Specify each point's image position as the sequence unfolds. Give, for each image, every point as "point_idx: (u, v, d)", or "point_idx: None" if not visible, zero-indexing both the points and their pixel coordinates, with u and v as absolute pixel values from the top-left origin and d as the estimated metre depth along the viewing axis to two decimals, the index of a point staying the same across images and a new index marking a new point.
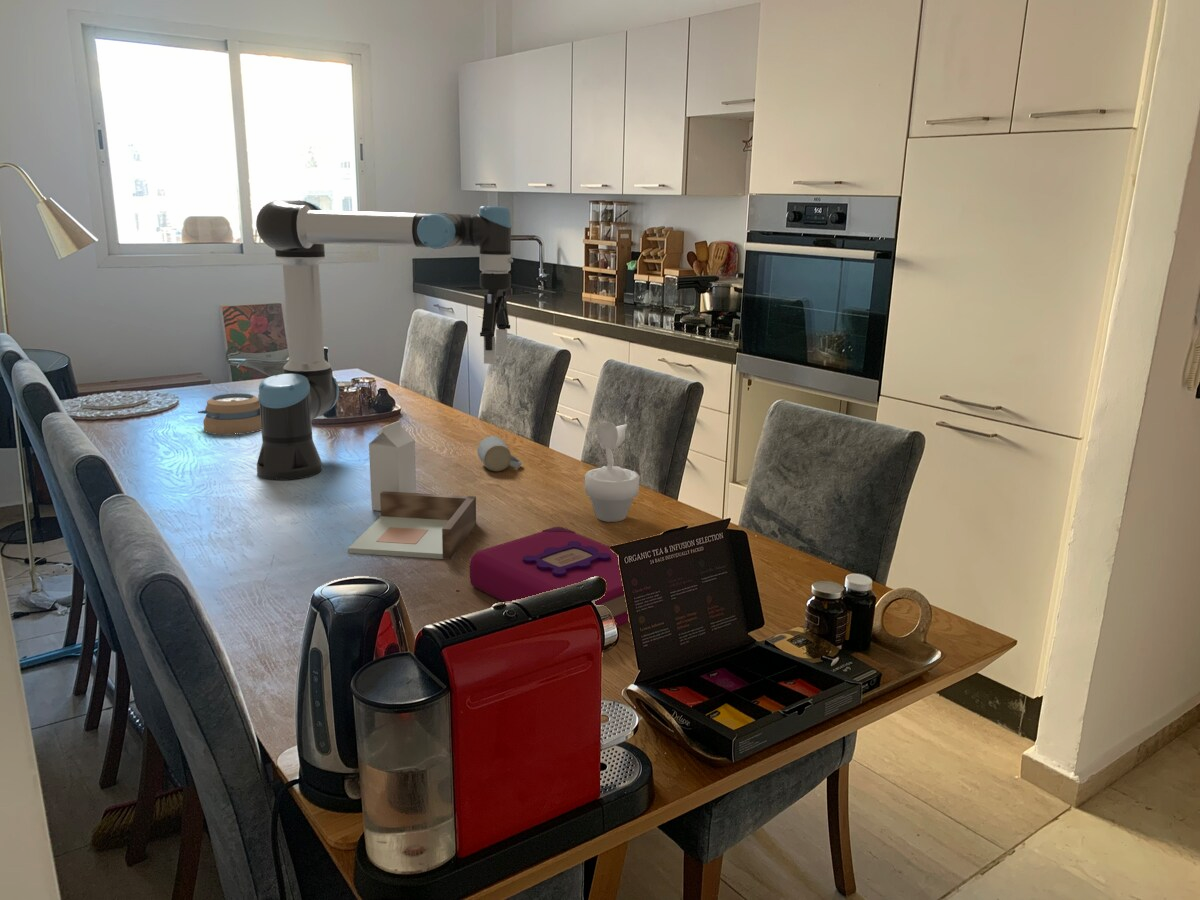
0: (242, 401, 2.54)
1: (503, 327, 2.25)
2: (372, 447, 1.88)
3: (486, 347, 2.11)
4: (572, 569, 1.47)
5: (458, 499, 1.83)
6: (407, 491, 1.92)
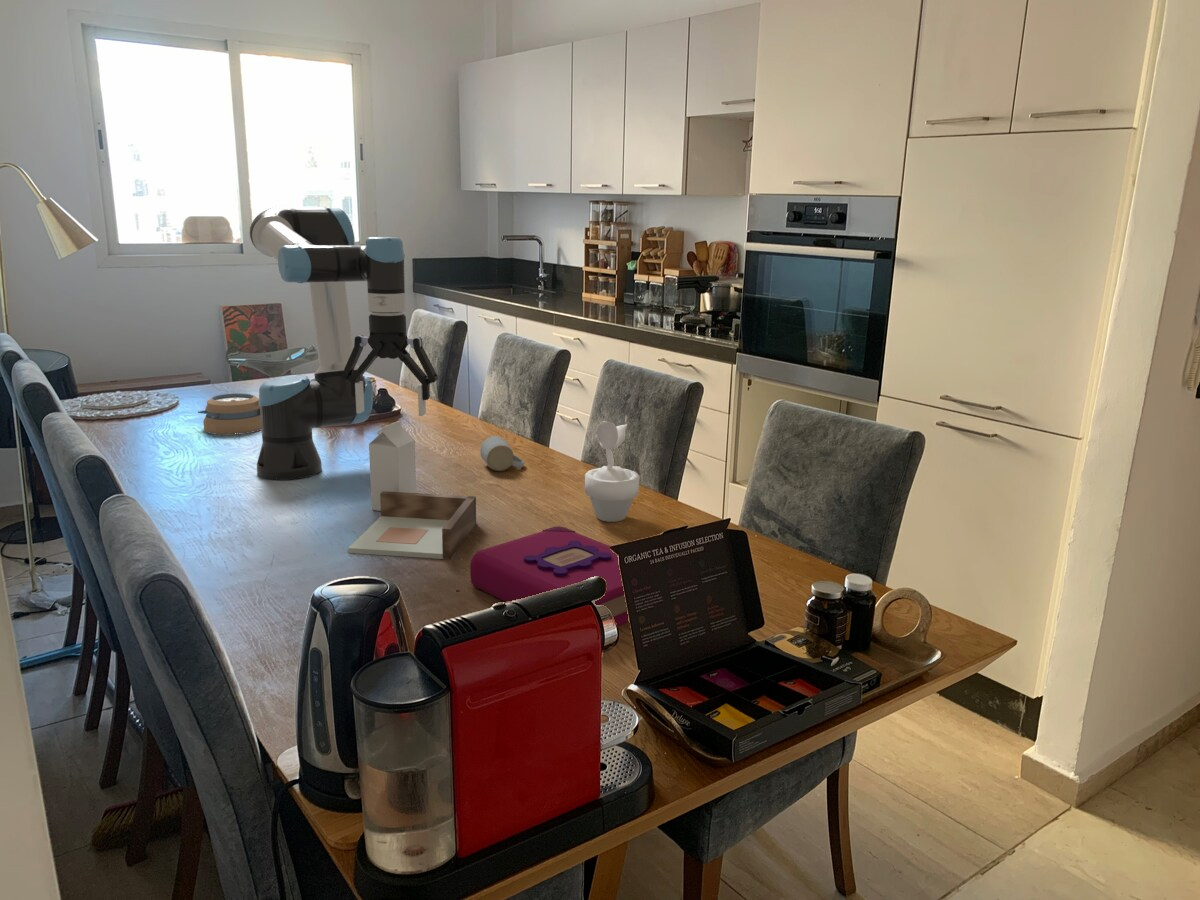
0: (242, 401, 2.54)
1: None
2: (372, 447, 1.88)
3: None
4: (573, 569, 1.47)
5: (458, 499, 1.83)
6: (407, 491, 1.92)
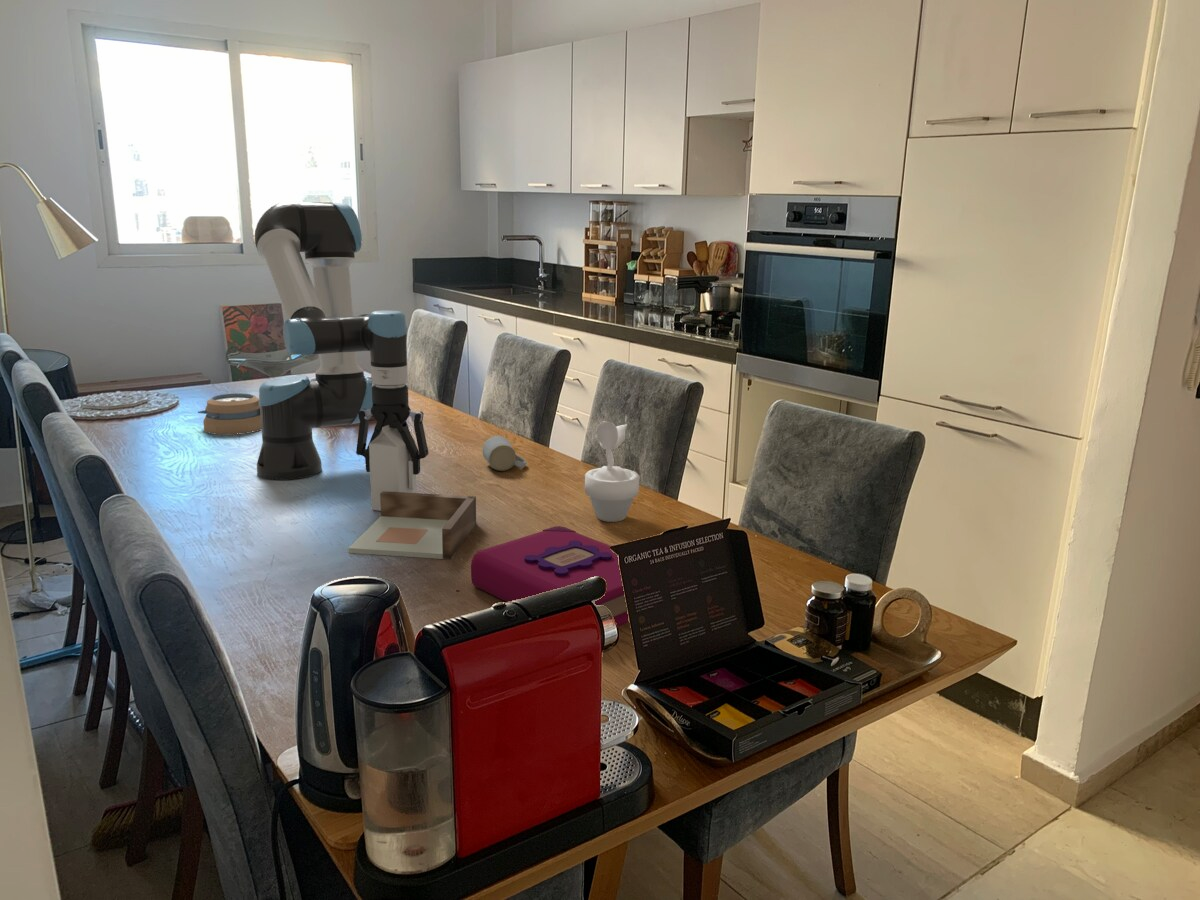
0: (242, 401, 2.54)
1: None
2: (372, 447, 1.88)
3: None
4: (574, 568, 1.47)
5: (458, 499, 1.83)
6: (407, 491, 1.92)
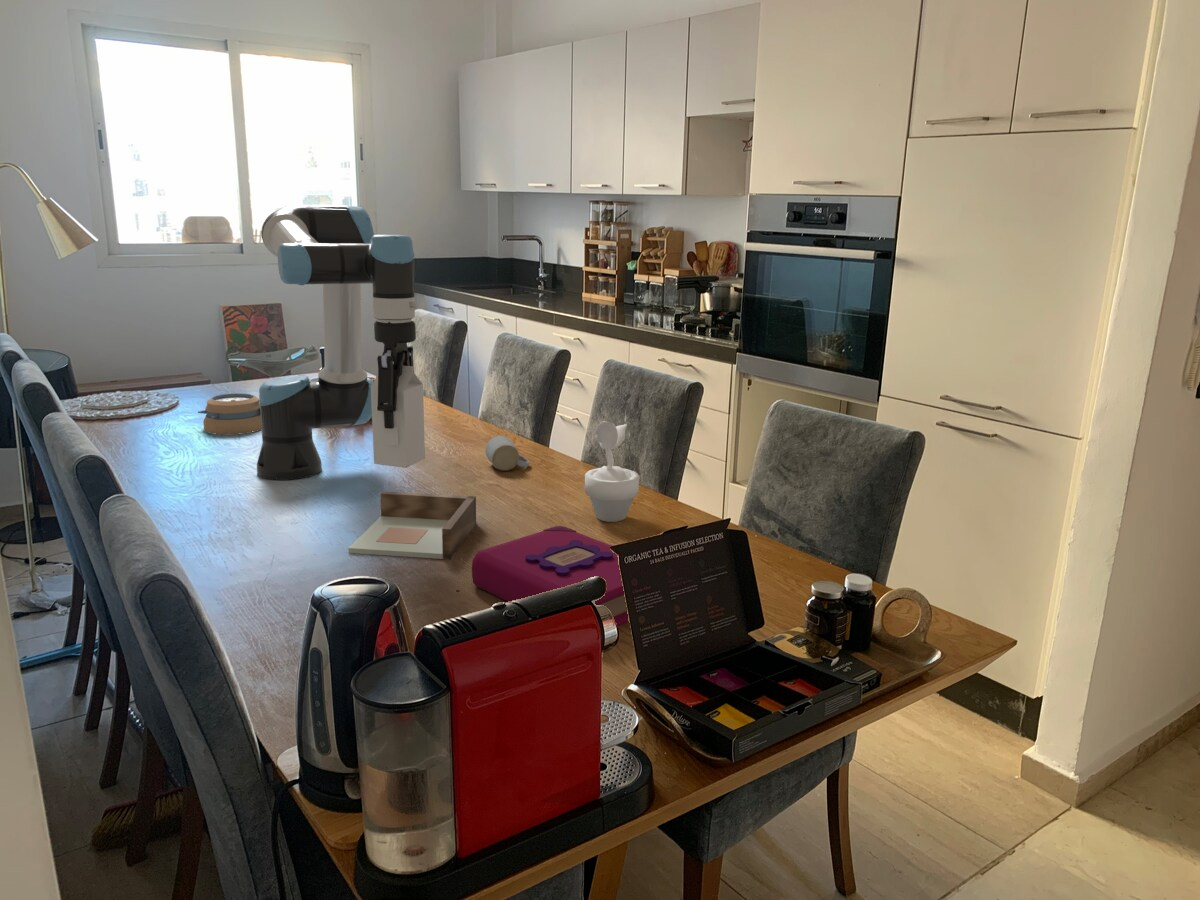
0: (242, 401, 2.54)
1: None
2: (406, 393, 1.64)
3: (385, 425, 1.64)
4: (575, 568, 1.47)
5: (458, 499, 1.83)
6: None
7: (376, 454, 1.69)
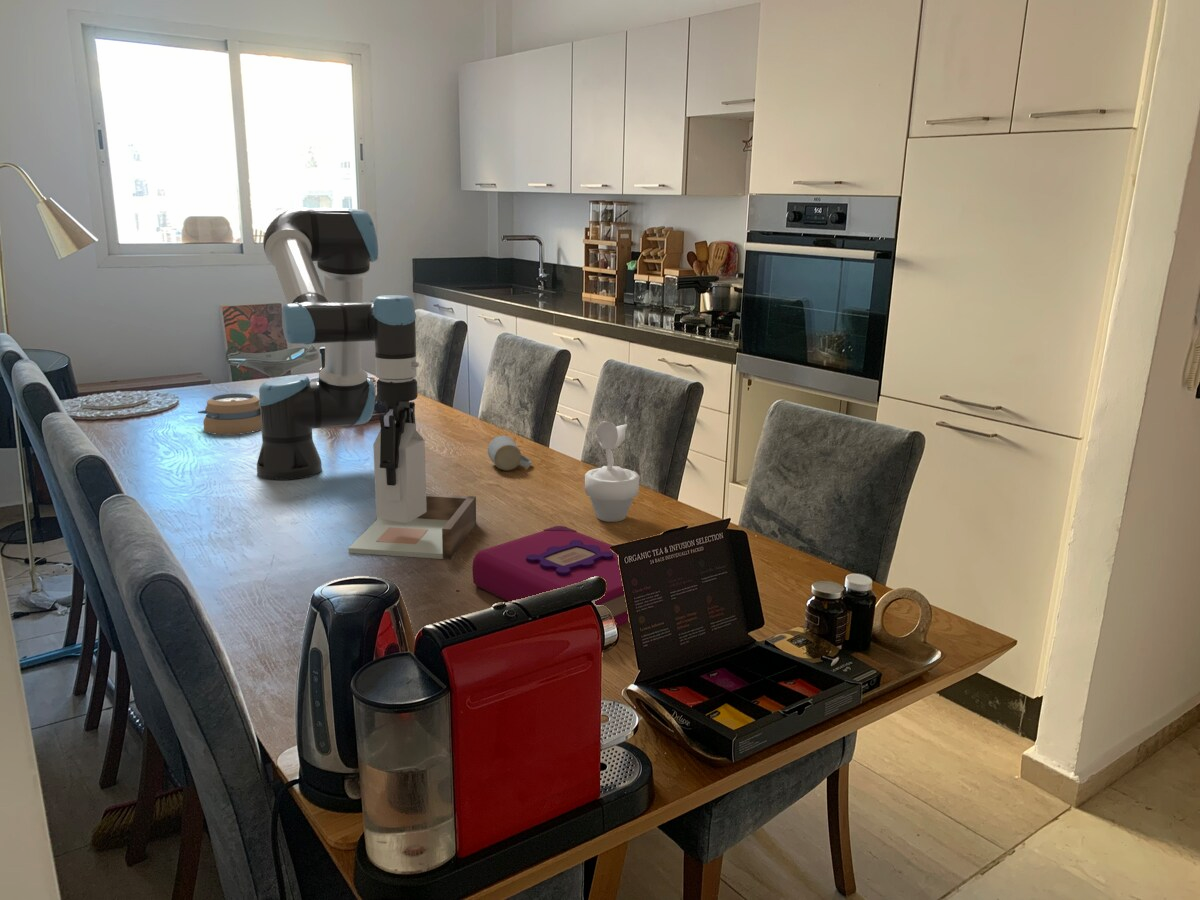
0: (242, 401, 2.54)
1: None
2: (408, 450, 1.67)
3: (388, 482, 1.66)
4: (576, 568, 1.47)
5: (458, 499, 1.83)
6: None
7: (378, 509, 1.71)
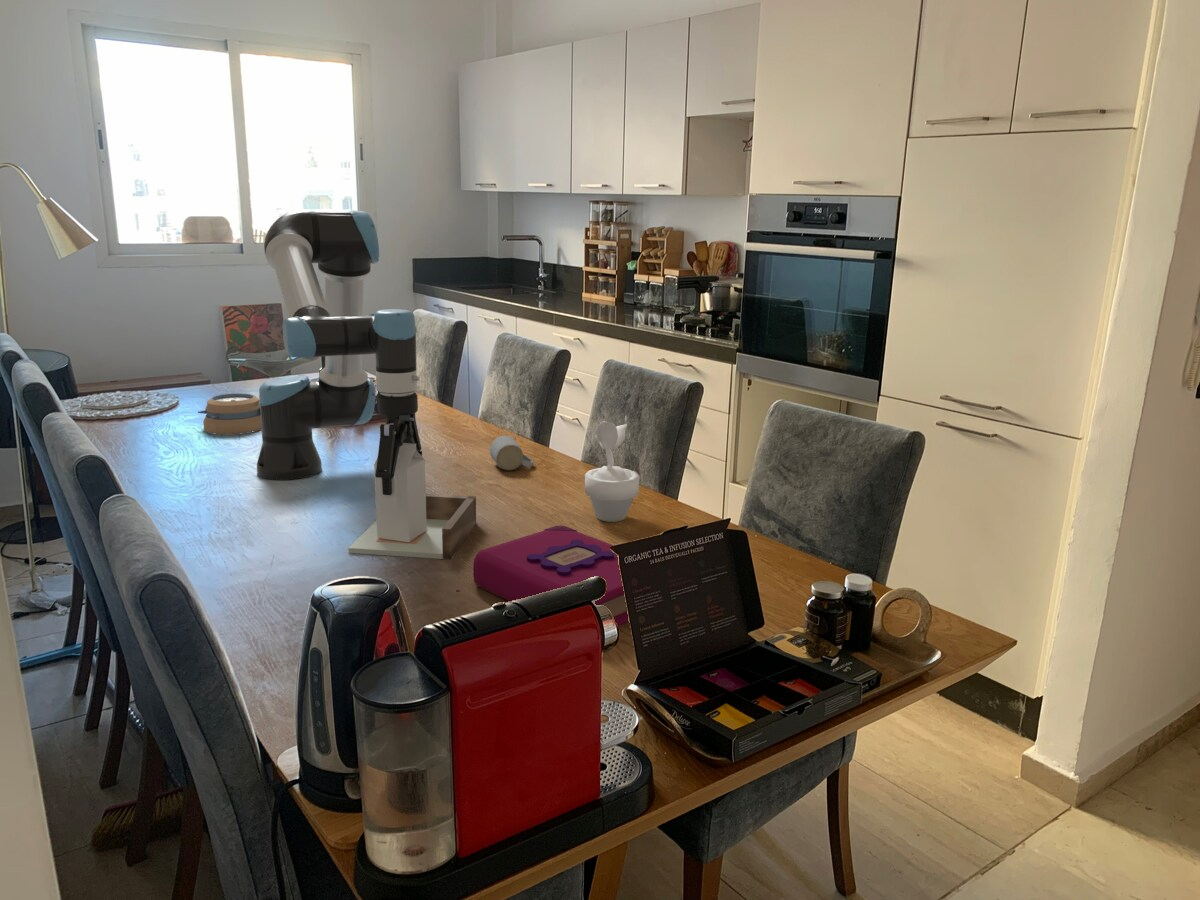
0: (242, 401, 2.54)
1: None
2: (409, 471, 1.68)
3: (383, 491, 1.64)
4: (576, 567, 1.47)
5: (458, 499, 1.83)
6: None
7: (379, 529, 1.72)
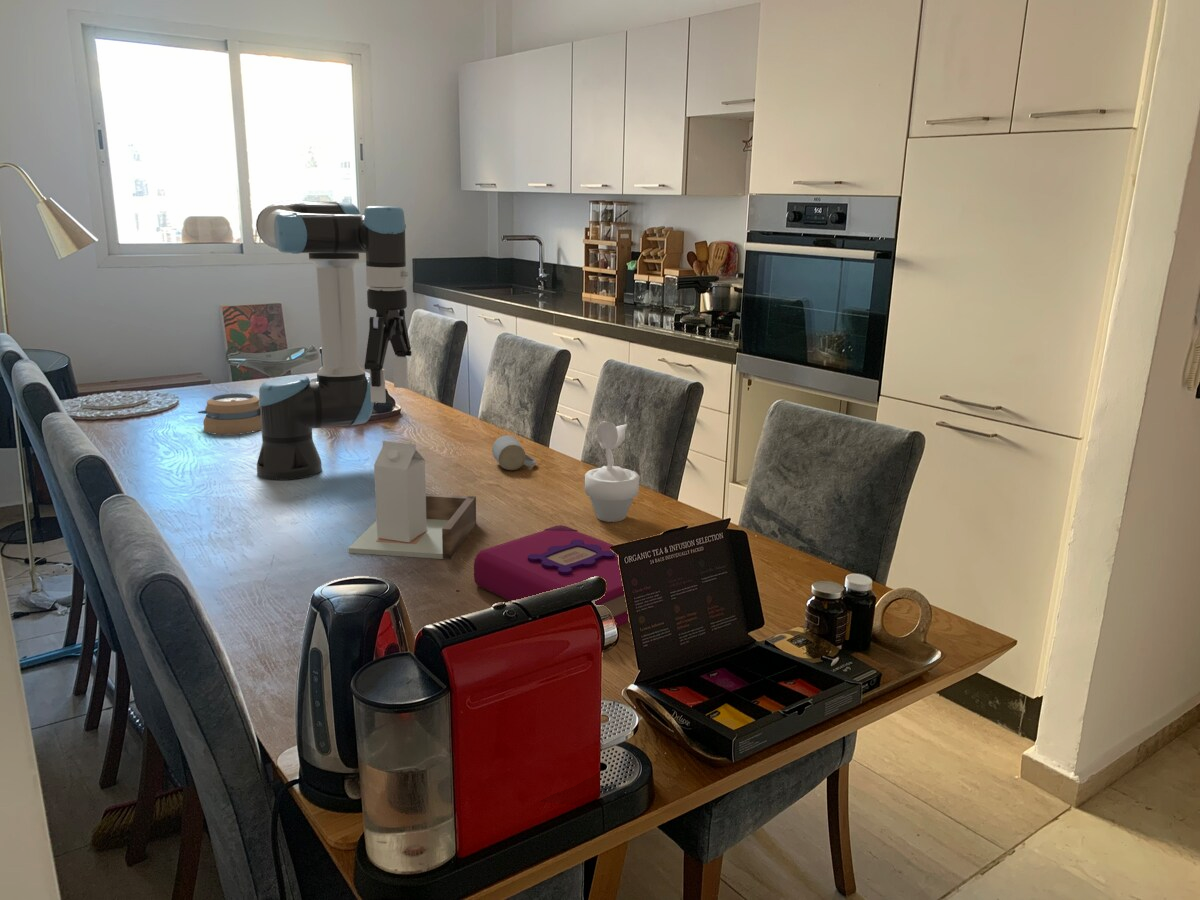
0: (242, 401, 2.54)
1: (402, 354, 1.83)
2: (409, 471, 1.68)
3: (372, 383, 1.69)
4: (577, 567, 1.47)
5: (458, 499, 1.83)
6: None
7: (379, 529, 1.72)
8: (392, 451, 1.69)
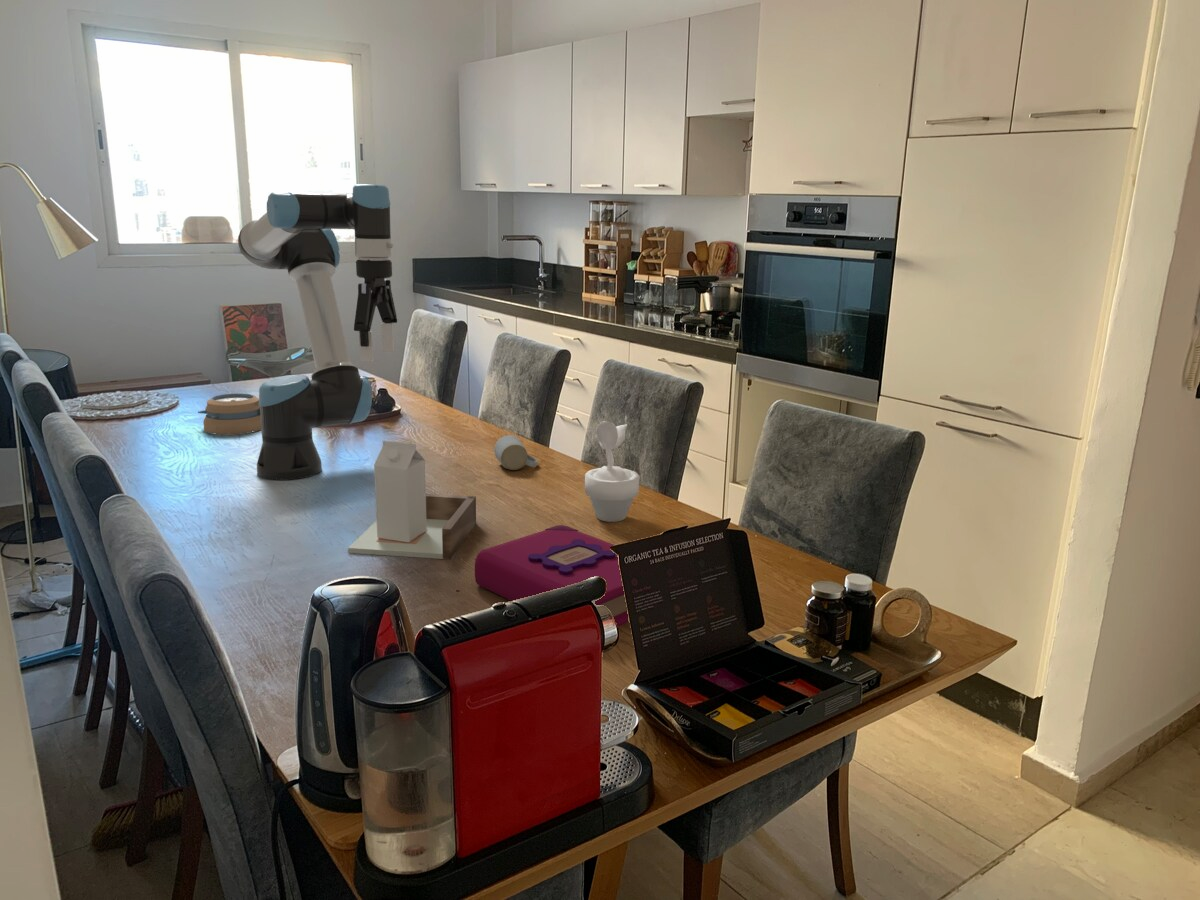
0: (242, 401, 2.54)
1: (389, 321, 2.02)
2: (409, 471, 1.68)
3: (361, 343, 1.87)
4: (578, 567, 1.48)
5: (458, 499, 1.83)
6: None
7: (379, 529, 1.72)
8: (392, 451, 1.69)
